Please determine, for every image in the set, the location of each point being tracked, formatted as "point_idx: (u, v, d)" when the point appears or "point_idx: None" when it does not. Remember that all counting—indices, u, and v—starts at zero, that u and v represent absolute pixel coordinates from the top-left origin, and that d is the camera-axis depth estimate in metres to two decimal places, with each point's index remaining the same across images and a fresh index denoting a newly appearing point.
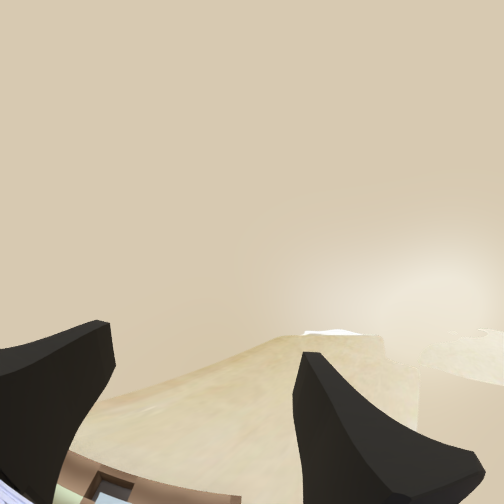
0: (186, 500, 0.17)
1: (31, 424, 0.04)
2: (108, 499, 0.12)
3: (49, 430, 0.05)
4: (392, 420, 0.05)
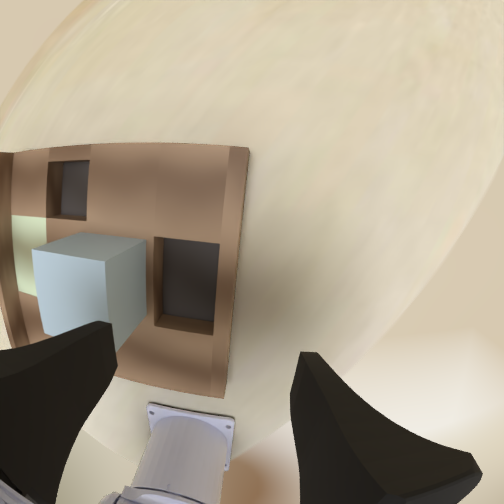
0: (160, 168, 0.15)
1: (33, 425, 0.04)
2: (41, 258, 0.11)
3: (51, 431, 0.05)
4: (389, 421, 0.05)
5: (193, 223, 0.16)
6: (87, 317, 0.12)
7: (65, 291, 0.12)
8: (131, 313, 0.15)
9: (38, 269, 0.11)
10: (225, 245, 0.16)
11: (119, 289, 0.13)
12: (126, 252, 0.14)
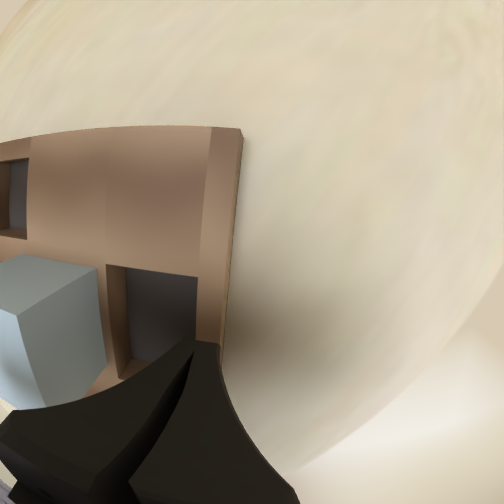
0: (110, 164, 0.10)
1: None
2: None
3: None
4: (234, 421, 0.05)
5: (158, 246, 0.10)
6: (17, 382, 0.06)
7: None
8: (80, 372, 0.09)
9: None
10: (205, 279, 0.10)
11: (52, 347, 0.07)
12: (59, 292, 0.08)
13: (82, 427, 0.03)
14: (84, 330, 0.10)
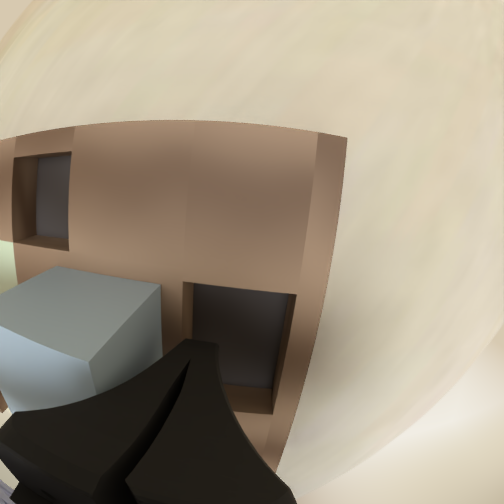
0: (193, 165, 0.09)
1: None
2: None
3: None
4: (232, 421, 0.05)
5: (253, 261, 0.09)
6: None
7: (32, 388, 0.05)
8: None
9: None
10: (304, 296, 0.10)
11: None
12: (130, 320, 0.07)
13: (84, 429, 0.03)
14: (149, 358, 0.09)
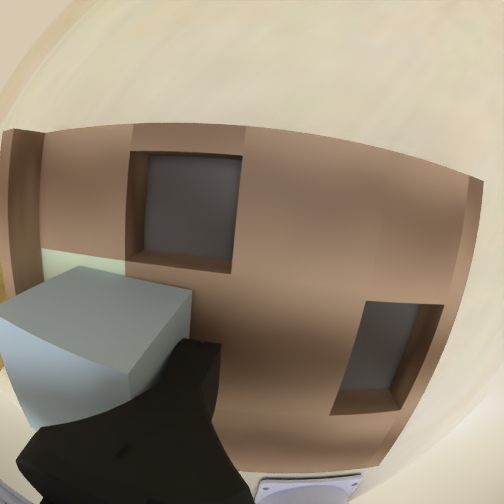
0: (388, 193, 0.09)
1: None
2: (5, 331, 0.05)
3: None
4: (203, 417, 0.05)
5: (422, 280, 0.10)
6: None
7: (54, 395, 0.05)
8: None
9: (4, 346, 0.05)
10: (448, 306, 0.10)
11: None
12: (165, 328, 0.07)
13: (118, 441, 0.03)
14: None
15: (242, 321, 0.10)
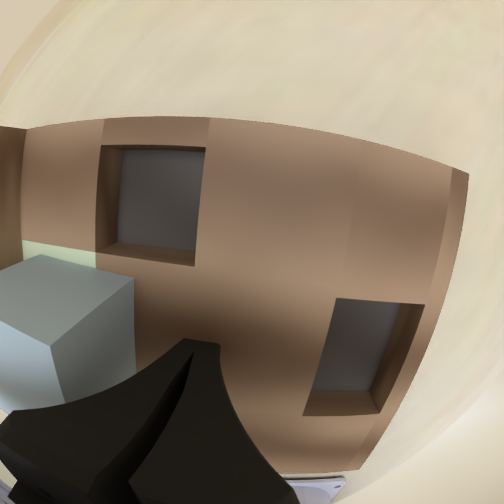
0: (360, 184, 0.09)
1: None
2: None
3: None
4: (234, 421, 0.05)
5: (399, 277, 0.09)
6: None
7: (5, 368, 0.05)
8: None
9: None
10: (430, 306, 0.10)
11: (88, 374, 0.07)
12: (97, 310, 0.07)
13: (82, 427, 0.03)
14: (119, 349, 0.09)
15: (207, 315, 0.10)
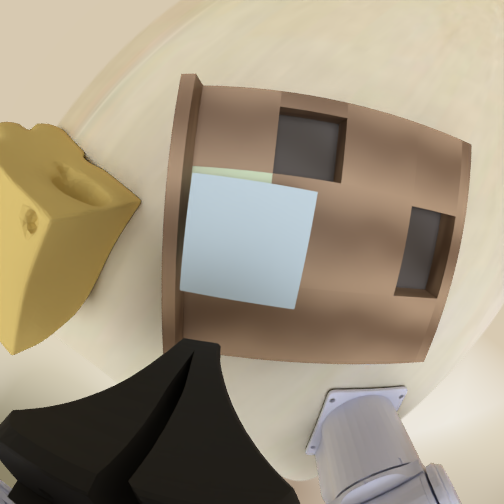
0: (419, 145, 0.15)
1: None
2: (210, 185, 0.11)
3: None
4: (234, 421, 0.05)
5: (441, 197, 0.15)
6: (271, 262, 0.11)
7: (244, 228, 0.11)
8: None
9: (199, 199, 0.11)
10: (458, 218, 0.16)
11: None
12: None
13: (82, 427, 0.03)
14: None
15: (346, 214, 0.16)
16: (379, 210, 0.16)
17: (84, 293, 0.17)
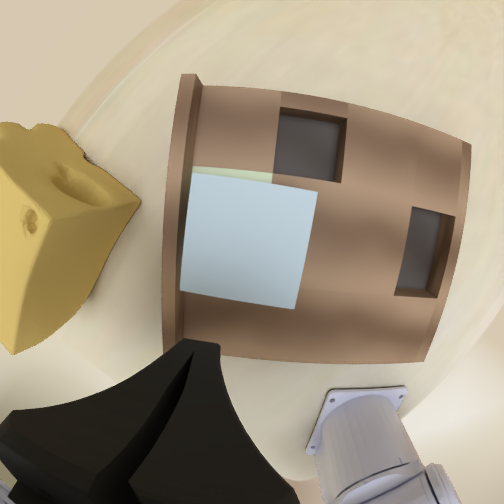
0: (419, 145, 0.15)
1: None
2: (210, 185, 0.11)
3: None
4: (234, 421, 0.05)
5: (441, 197, 0.15)
6: (271, 262, 0.11)
7: (244, 228, 0.11)
8: None
9: (199, 199, 0.11)
10: (458, 218, 0.16)
11: None
12: None
13: (82, 427, 0.03)
14: None
15: (346, 214, 0.16)
16: (379, 210, 0.16)
17: (84, 293, 0.17)
